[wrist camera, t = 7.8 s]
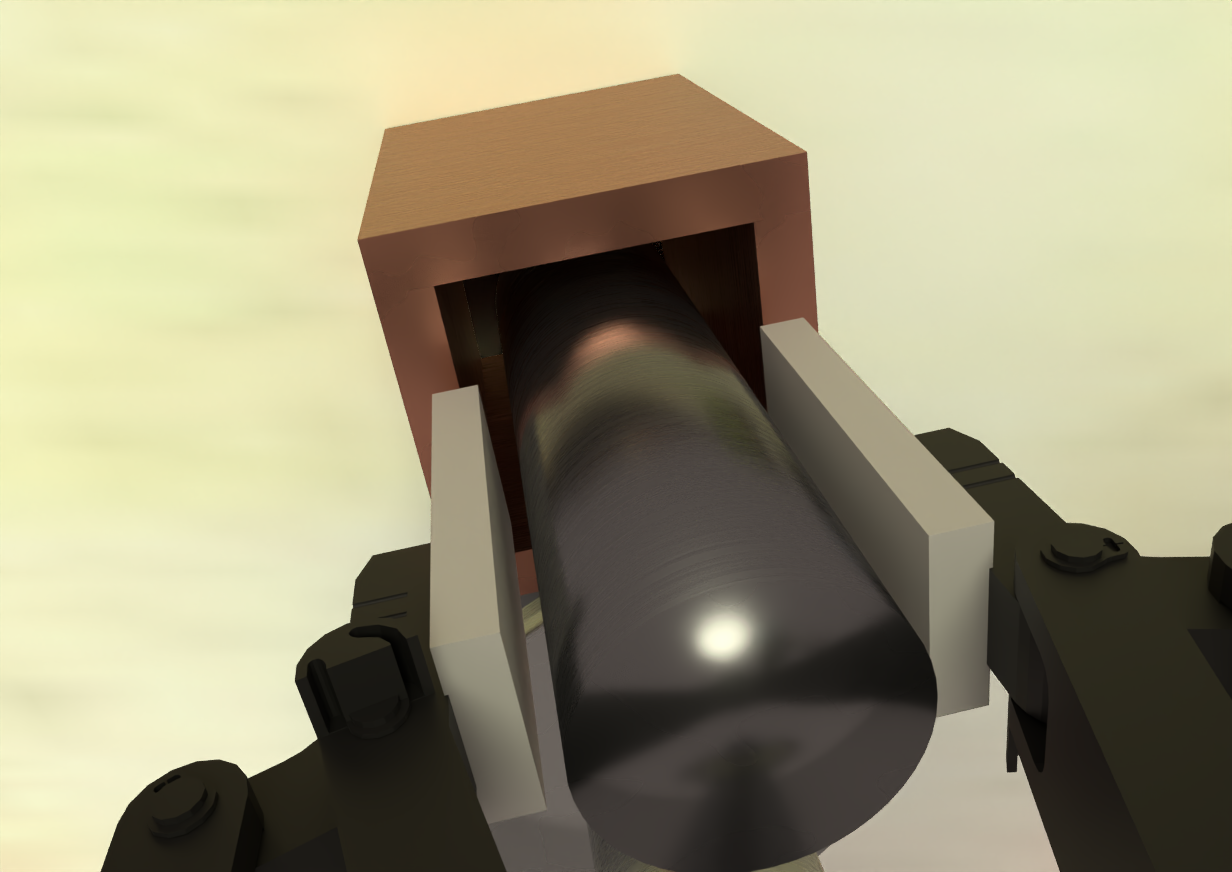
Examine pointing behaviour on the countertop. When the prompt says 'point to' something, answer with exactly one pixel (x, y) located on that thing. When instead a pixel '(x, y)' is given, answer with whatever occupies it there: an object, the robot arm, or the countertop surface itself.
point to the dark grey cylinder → (695, 585)
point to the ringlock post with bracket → (564, 229)
